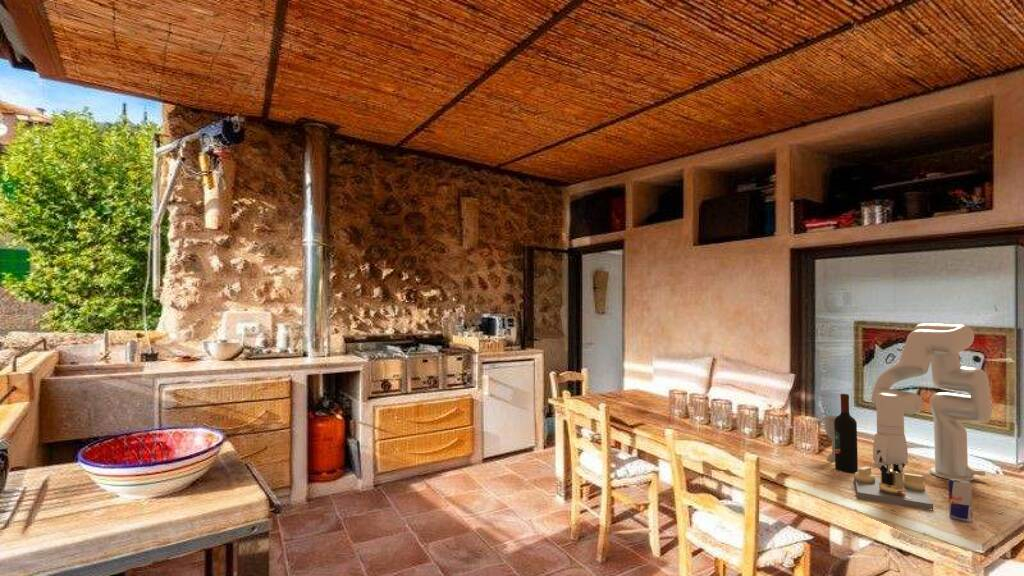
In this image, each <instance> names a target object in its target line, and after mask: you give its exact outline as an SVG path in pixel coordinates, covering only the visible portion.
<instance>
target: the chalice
mask: <svg viewBox="0 0 1024 576" xmlns="http://www.w3.org/2000/svg"><path fill="white" fill-rule="evenodd" d="M837 416H838V415H823V416H822V418H823V419H824V431H825V433H826V434H827V437H828V438H829V439H831V444H830V445H831V447H830V449H831V453H829V454H828V456H827V458H826V460H828V461H830V462H834V463H835V435H834V420H835V418H836V417H837Z"/></svg>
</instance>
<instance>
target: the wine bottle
mask: <svg viewBox="0 0 1024 576" xmlns="http://www.w3.org/2000/svg"><path fill="white" fill-rule="evenodd" d="M839 398H840V414H839V415H836V416H837V417H836V418H835V420H834V435H835V462H834V465H835V467H834V468H835V470H837V471H838V472H842V473H847V474H855V472H858V468H859V464H858V461H859V460H858V455H859V454H858V429H857V428H858V423H857V420H856V419H855V418H854V417H853V416H851V415H850V394H848V393H840V397H839Z"/></svg>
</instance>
